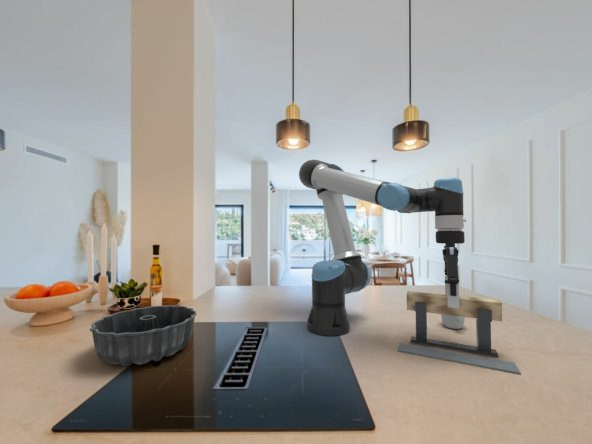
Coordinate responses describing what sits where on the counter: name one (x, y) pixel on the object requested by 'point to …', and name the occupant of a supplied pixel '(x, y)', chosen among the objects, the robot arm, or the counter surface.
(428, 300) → the rail
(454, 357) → the grey base plate
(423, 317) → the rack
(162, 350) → the bundt pan
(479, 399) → the counter surface
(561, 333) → the counter surface
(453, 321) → the cup
